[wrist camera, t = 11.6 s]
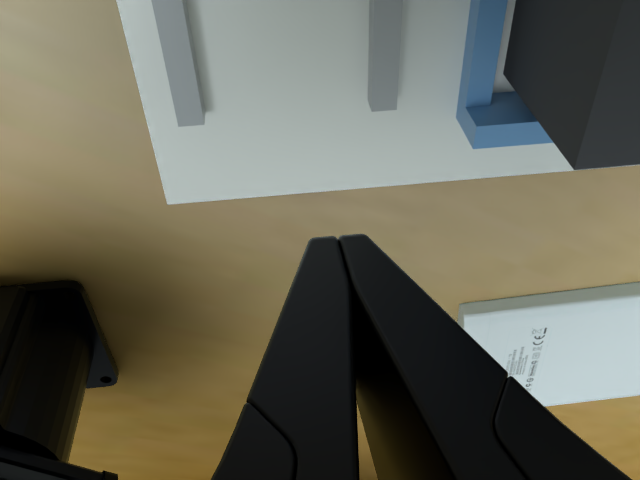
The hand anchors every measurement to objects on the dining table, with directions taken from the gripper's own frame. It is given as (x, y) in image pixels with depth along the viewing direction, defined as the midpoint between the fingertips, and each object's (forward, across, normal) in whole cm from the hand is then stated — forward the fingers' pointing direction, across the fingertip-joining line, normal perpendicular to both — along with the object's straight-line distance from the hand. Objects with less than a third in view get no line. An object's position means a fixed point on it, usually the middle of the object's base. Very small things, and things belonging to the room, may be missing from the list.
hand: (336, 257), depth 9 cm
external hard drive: (+12, -14, +17) cm, 25 cm away
